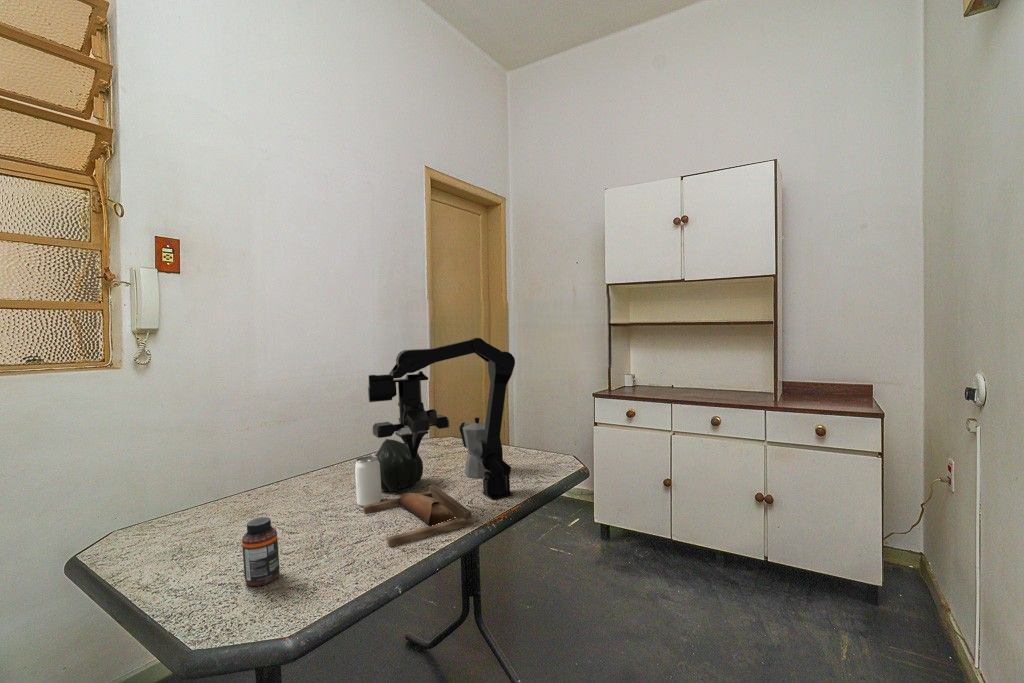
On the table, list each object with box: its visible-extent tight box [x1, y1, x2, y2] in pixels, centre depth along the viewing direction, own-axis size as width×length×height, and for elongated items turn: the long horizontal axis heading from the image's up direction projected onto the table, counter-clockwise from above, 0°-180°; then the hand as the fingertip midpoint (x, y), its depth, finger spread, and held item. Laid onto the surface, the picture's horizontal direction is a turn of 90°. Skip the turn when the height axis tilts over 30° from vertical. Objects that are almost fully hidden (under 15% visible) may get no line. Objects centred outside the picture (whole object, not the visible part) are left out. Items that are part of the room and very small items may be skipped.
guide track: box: [362, 484, 475, 548], centre depth 117 cm, size 20×24×3 cm
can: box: [354, 455, 383, 507], centre depth 129 cm, size 6×6×12 cm
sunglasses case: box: [399, 492, 455, 526], centre depth 120 cm, size 18×7×7 cm
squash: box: [374, 438, 424, 492], centre depth 141 cm, size 14×15×15 cm
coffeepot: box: [458, 416, 487, 479], centre depth 151 cm, size 15×9×18 cm, turn 44°
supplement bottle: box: [241, 516, 281, 587], centre depth 90 cm, size 6×6×11 cm
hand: (413, 458), depth 123 cm, fingers closed
